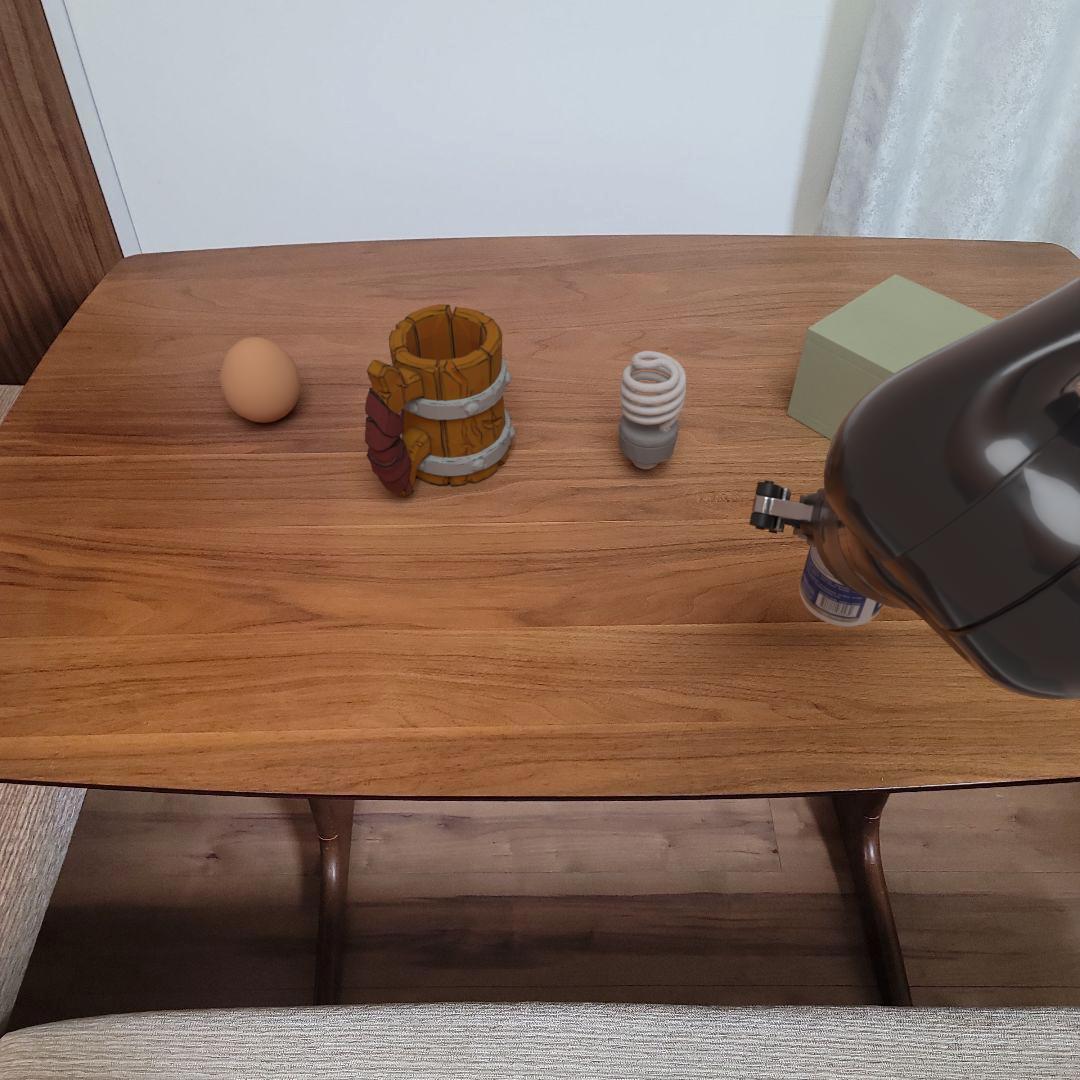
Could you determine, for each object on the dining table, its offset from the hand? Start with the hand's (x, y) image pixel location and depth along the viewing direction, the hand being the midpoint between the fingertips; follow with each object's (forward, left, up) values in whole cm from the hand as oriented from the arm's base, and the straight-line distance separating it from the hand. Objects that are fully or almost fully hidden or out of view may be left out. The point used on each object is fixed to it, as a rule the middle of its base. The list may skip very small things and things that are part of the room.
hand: (857, 528), depth 59 cm
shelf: (+14, -30, -15) cm, 37 cm away
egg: (+54, +15, -16) cm, 58 cm away
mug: (+37, +7, -16) cm, 41 cm away
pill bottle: (-1, +2, -5) cm, 5 cm away
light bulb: (+24, -7, -16) cm, 30 cm away
